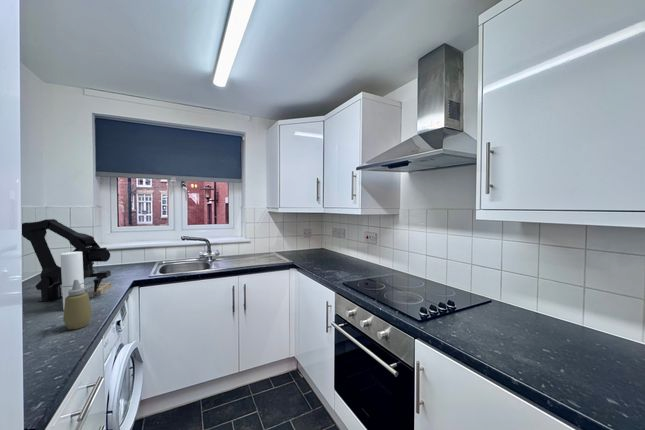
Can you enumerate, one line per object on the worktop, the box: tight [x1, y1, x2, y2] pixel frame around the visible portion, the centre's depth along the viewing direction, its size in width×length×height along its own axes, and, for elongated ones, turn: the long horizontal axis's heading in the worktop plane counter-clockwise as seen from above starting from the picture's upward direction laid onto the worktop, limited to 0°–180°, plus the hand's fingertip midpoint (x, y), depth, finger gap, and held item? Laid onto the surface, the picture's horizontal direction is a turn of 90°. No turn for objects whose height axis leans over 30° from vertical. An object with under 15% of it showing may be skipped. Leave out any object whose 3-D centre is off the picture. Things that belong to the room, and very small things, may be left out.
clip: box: [84, 284, 94, 299], centre depth 130 cm, size 8×3×6 cm, turn 19°
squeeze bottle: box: [63, 280, 93, 330], centre depth 101 cm, size 8×8×18 cm
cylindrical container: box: [60, 251, 85, 311], centre depth 119 cm, size 7×7×25 cm
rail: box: [93, 281, 113, 296], centre depth 142 cm, size 14×7×2 cm, turn 19°
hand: (86, 293), depth 130 cm, fingers open, 7 cm apart
